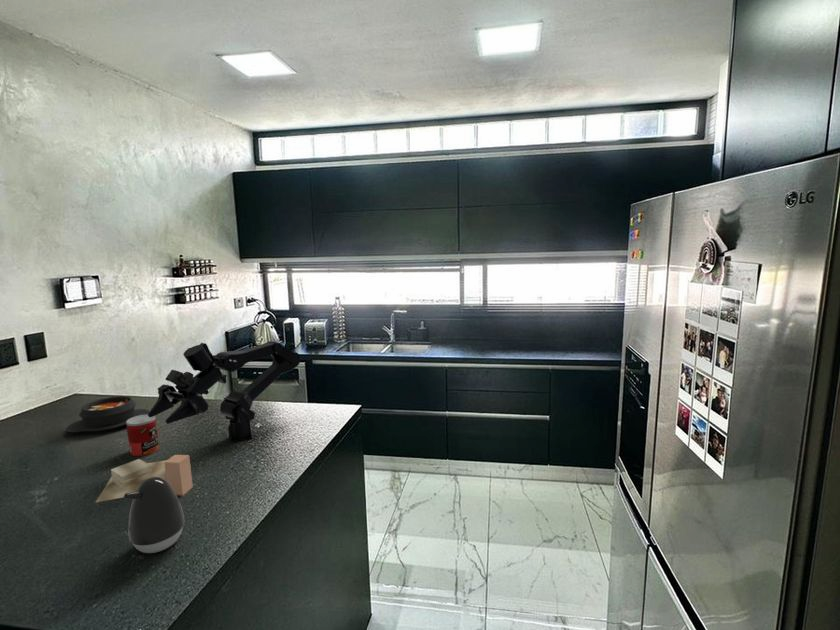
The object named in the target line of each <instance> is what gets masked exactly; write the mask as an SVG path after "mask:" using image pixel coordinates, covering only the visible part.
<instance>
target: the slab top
mask: <svg viewBox="0 0 840 630" xmlns="http://www.w3.org/2000/svg"><path fill="white" fill-rule="evenodd" d="M148 463H149V462H146V461H144V460H142V459H140V458H137V459H135V460H133V461H130V462H126V463H125V464H122V465H119V466H115V467H114V468H111V469H110V472H111V477H112V476H113V477H115V478H116V479H118V480H119V481H121V482H122V483H125V482H127V481H130V480H132V479H135V478H137V477H140V476H142V475H145V474H147V473H150V472H152V469H151V465H149V464H148Z"/></svg>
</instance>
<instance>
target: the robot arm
mask: <svg viewBox="0 0 840 630" xmlns="http://www.w3.org/2000/svg"><path fill="white" fill-rule="evenodd" d="M268 356H270V357H272V364H271V365H270V366H269V367H268V368H267V369H266V370H264V371H263V372H262V373H260V375H259V376H257V377H256V378H255V379H254V380H253V381H251V383H250V384H248V385H247V386H246V387H245V388H244V389H243V390H242V391H236V390H232V391H231V392H229V394H228V395H227V396H225V397H223V401H222V402H221V403H220V408H219V411H220V413H221V415H223V416H224V418H225V419H226V420H229V423H228V426H227V430H228V438H229V439H230V442H238V441H244V440H250V439H252V438H253V430H252V421H253V420H254V419H255V415H256V412H255V411H253V410H251V409H252V405H253V402H254V401H255V399H257V398H258V397H259V396H260V395H261V394H262V393H263V392H264V391H265V390H267V388H268V387H270V385H271V386H272V384H273V383H275V381H276V380H277V379H278V378H279V377H281V375H283V374H286V373H288V372H291V371H293V370H294V369H295V368H297V367H299V365H300V363H301V356H300V354H299V353H298V352H296V351H293V350H292V349H290V348H288V347H286V346H284V345H283V344H282V343H281V342H279V341H272V340H270V341H267V342H265V343H262V344H258V345H255V346H252V347H248V348H245V349H243V350H242V349H241V350H231V351H230V350H229V351H228V350H227V351H220V352H218V353H217V354H214V355H213V353H212V352H211V351H210V349H209V345H207V343H205V342H201V343H199V344H197V345H194V346H191V347H188V348H187V349H186V350H185V351H184V352H183V357H184V358H185V359H186V361H187V363H188V364H189V365H190V367H191V369H192V370H193V371H196V372H197V371H198V373H196V374H195V375H194V373H192V372H190V371H184V372H182V371H179V370H176V369H170V372H169V373H168V374H167V376H166V377H165V378H164V380H166V381H167V382H169V383H172V384H173V385H169V384H161V385H160V386H159V387H158V388H157V391H158V392H157V394H158V398H157V401H156V402H155V404H154V405H153V406H152V408H151V409H150V410H149V411H150V412H149V414H148V416H149V417H153V416H155V417H156V416H157V415H159V414H161V413H163V412H166V411H168V410H170V409H172V408H173V407H175V406H174V405H177V404H179V402H181V403H180V405H179V406H178V407H177V408H176V409H175V410H174V411H173V412H172V413H171V414H170V415H169V416H168V417H167V418H166V420H164V421H165V423H166V424H167V425H168V424H173V423H174V422H177V421H180V420H183V419H186V418H190V417H193V416H198V415H199V414H201V415H204V413H205V412H207V411H208V410H209V403H208V402H207V401H206V399H205V398H204V396H203V395H209V393H210V391H209V390H210V389H211V388H212V387H213V386H214V385H216V384H217V383H221V384H226V383H227V376H228V375H227V374H224V373H223V372H230V373H234V372H236V371H237V370H240V369H242V368H243V367H244V366H245V364H247V363H250V362H253V361H256V360H260V359H262V358H265V357H268ZM222 371H223V372H222ZM174 385H175V386H174Z"/></svg>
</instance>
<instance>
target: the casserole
mask: <svg viewBox="0 0 840 630" xmlns="http://www.w3.org/2000/svg"><path fill="white" fill-rule="evenodd" d="M136 406H137V402H136V401H134V399H133V397H131V396H127V395H126V396H123V395H120V396H110V397H109V396H108V397H105V398H100V399H96V400H93V401H91V402H88V403H86V404H85V405H83V406H82V407H81V410H80V412H79V413H78V417H80V418H81V419H79V420H76V421H73V422H72V423H70V424H69V425H68V426H67V427H66V428H65V430H66V432H67V433H68V432H69V433H73V434H74V433H82V432H83V433H84V432H104V431H112V430H115V429H119V428H121V427H123V426H127V425H126V421H127V420H128V419H130V418H132V417H135V416H139V415H146V414H149V412H150V411H151V410H150V409H147V408H138V409H137V408H135V407H136Z"/></svg>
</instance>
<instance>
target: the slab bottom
mask: <svg viewBox="0 0 840 630" xmlns="http://www.w3.org/2000/svg"><path fill="white" fill-rule="evenodd" d="M111 477H112V480H113V482H114V483H115V484H117V485H118V486H120V487H121V488H123V489H127V488H129V487H132V486H134V485H136V484H139V483H141V482H143V481H145V480H146V479H148V478H151V477H152V472H150V473H147V474H145V475H142V476H140V477H137V478H135V479H132V480H130V481H127V482H125V483H122V482H121V481H119V480H118V479H116V478H115V477H113V476H112V475H111Z"/></svg>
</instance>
